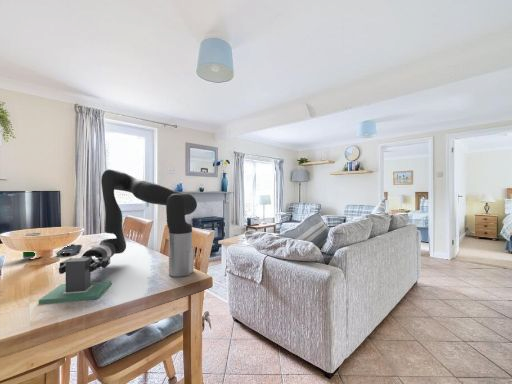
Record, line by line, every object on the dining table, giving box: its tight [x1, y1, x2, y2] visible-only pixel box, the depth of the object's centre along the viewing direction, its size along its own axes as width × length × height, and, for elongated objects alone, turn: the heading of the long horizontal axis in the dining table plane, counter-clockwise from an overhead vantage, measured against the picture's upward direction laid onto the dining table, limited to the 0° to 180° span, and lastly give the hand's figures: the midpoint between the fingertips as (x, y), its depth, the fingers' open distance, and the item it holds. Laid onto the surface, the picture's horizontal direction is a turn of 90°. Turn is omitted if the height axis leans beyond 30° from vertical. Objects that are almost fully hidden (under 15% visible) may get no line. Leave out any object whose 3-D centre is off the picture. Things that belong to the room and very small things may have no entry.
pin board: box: [38, 280, 113, 305], centre depth 80 cm, size 16×12×4 cm
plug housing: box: [65, 257, 92, 292], centre depth 80 cm, size 6×4×10 cm
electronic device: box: [56, 243, 83, 258], centre depth 129 cm, size 9×6×15 cm
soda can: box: [22, 232, 43, 259], centre depth 119 cm, size 8×8×12 cm
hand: (75, 270), depth 79 cm, fingers open, 8 cm apart
